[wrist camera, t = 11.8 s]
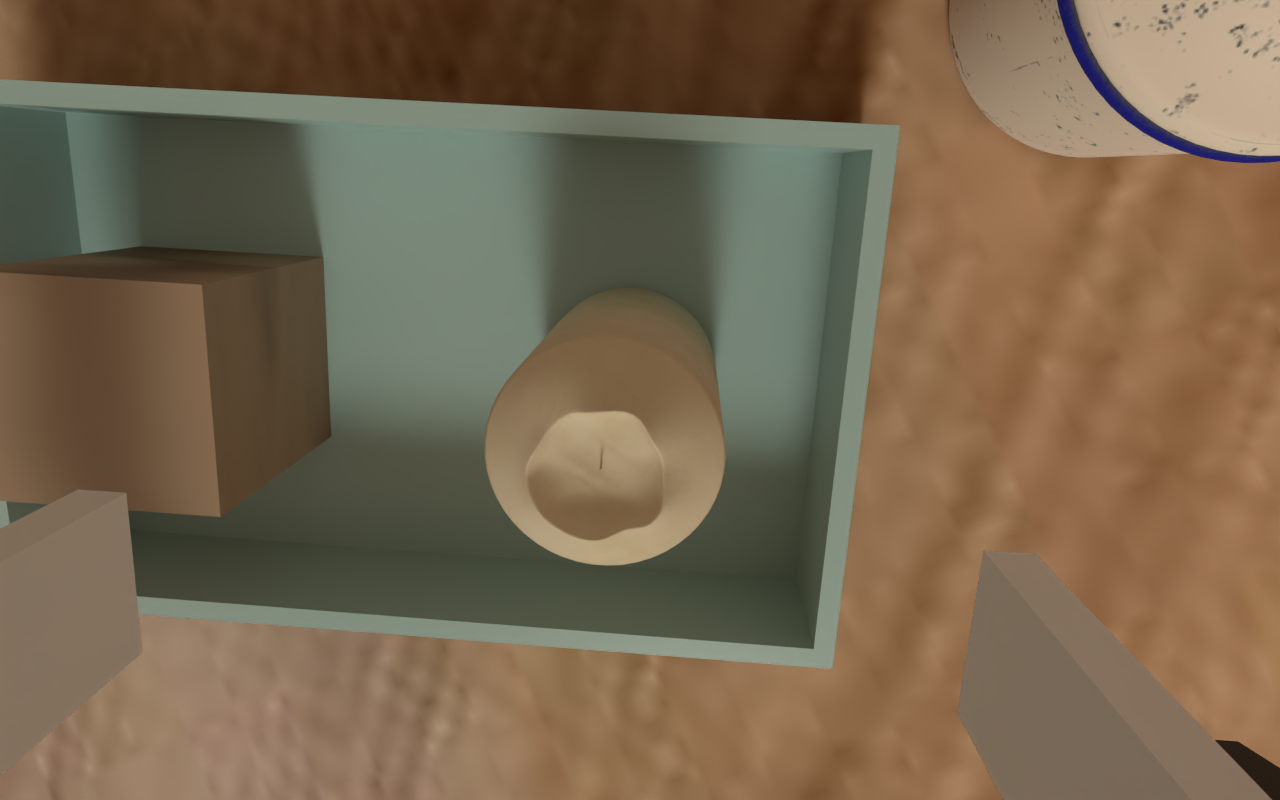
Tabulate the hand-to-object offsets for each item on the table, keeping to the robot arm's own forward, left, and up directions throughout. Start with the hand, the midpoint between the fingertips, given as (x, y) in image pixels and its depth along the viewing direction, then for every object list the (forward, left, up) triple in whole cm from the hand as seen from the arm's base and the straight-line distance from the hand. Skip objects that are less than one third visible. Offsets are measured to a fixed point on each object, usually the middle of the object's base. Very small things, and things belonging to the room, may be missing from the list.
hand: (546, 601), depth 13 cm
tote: (-6, 0, -16) cm, 17 cm away
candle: (0, 0, -15) cm, 15 cm away
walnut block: (-13, 0, -15) cm, 20 cm away
